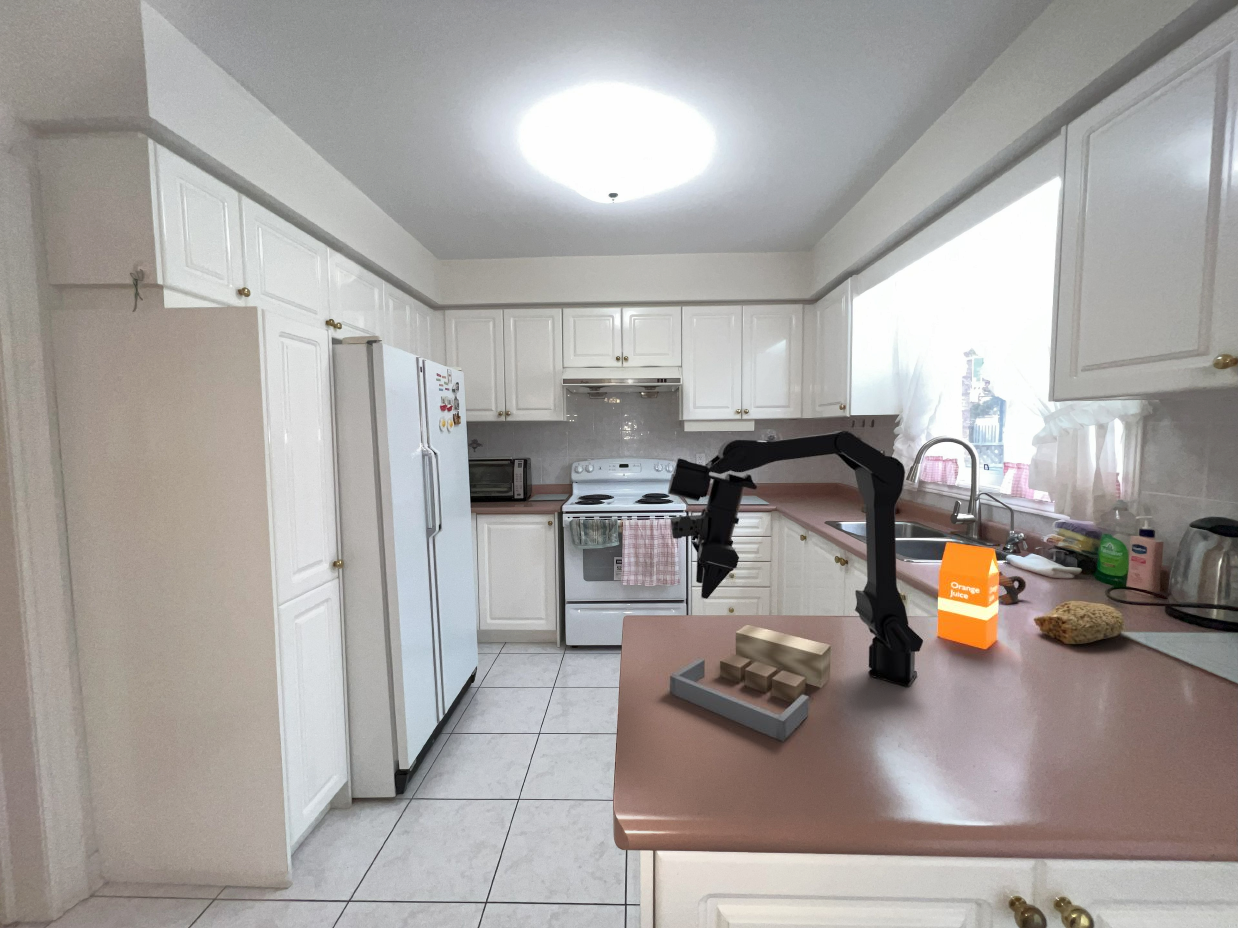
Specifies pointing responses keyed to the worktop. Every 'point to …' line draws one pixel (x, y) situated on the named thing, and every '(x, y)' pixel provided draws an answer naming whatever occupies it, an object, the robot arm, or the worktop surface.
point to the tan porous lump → (1081, 622)
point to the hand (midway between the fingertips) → (701, 589)
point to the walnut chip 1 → (734, 667)
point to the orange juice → (968, 595)
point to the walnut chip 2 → (788, 686)
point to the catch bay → (736, 704)
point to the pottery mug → (1011, 588)
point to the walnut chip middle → (760, 676)
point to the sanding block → (785, 653)
